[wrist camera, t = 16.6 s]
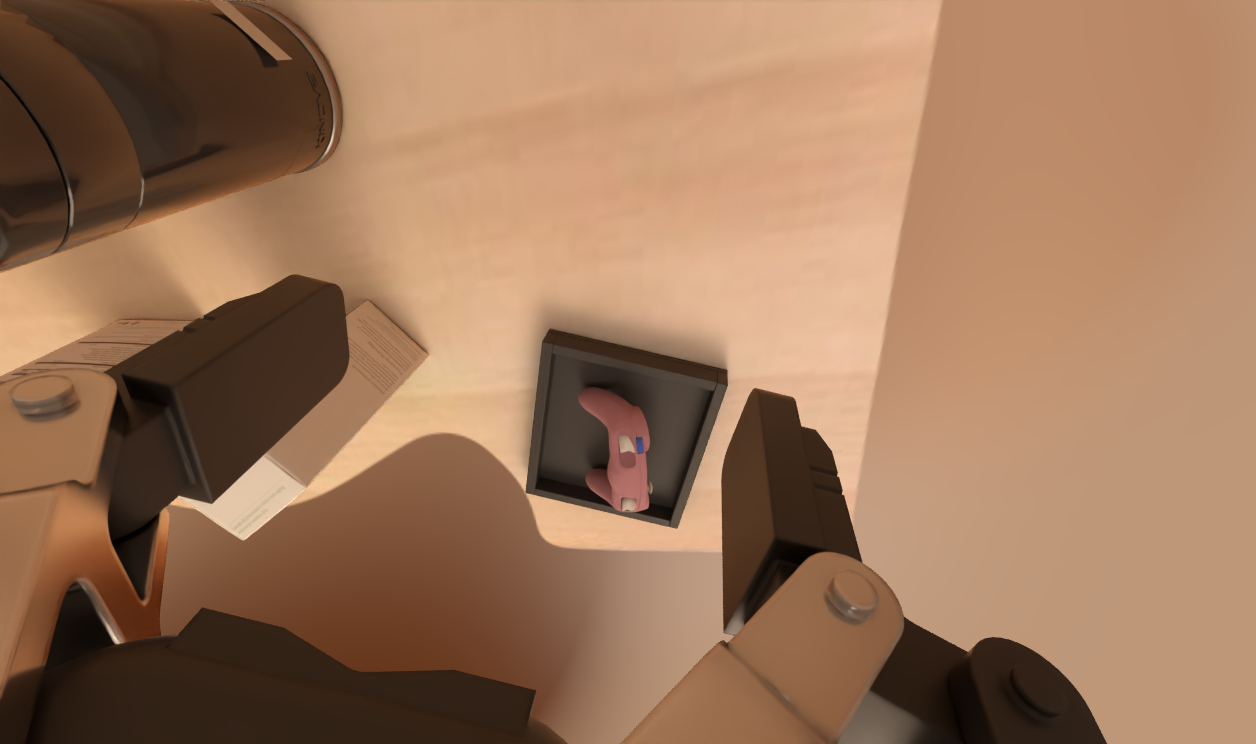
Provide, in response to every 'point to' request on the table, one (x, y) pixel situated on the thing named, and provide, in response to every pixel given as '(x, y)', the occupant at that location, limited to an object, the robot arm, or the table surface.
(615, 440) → the video game controller
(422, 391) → the table surface
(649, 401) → the tray
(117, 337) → the rectangular carton
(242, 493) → the cosmetic box
